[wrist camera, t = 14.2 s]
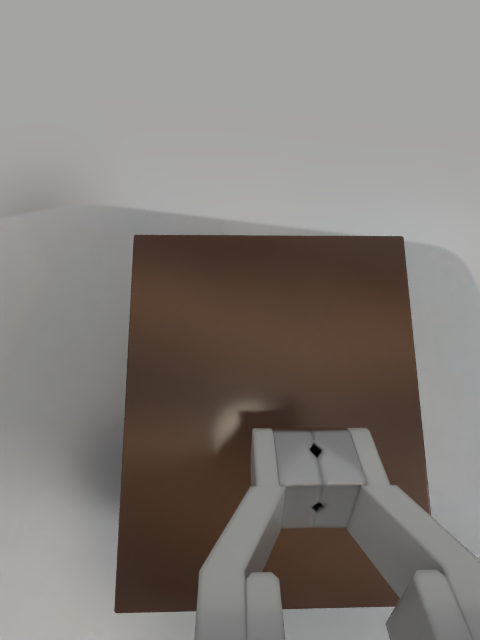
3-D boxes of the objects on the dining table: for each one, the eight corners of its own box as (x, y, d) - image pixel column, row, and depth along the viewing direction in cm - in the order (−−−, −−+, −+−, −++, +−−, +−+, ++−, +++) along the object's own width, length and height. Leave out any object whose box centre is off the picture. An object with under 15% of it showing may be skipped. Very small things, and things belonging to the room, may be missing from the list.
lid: (137, 241, 18) (133, 234, 17) (396, 242, 19) (404, 235, 18) (119, 603, 15) (113, 614, 14) (430, 596, 16) (441, 606, 15)
